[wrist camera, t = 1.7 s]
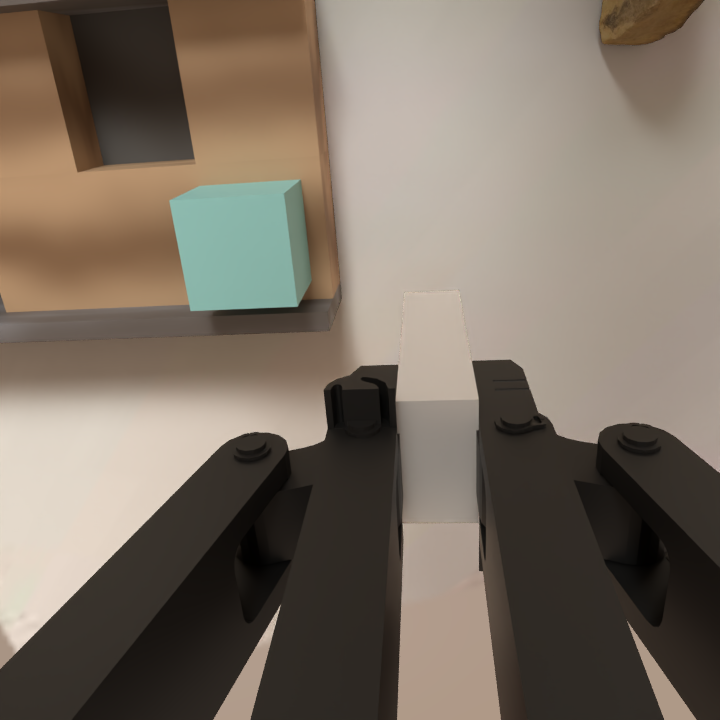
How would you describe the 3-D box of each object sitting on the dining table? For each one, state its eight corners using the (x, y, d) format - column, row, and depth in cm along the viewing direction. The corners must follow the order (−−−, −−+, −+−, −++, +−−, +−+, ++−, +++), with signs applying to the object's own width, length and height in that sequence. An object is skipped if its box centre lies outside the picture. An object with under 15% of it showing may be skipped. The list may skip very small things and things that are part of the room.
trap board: (-230, 22, 32) (-337, 13, 28) (311, -34, 29) (290, -54, 24) (-112, 317, 38) (-183, 349, 34) (341, 298, 35) (329, 331, 31)
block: (199, 185, 30) (169, 200, 27) (300, 179, 30) (283, 193, 26) (216, 284, 32) (190, 311, 29) (311, 280, 32) (297, 306, 28)
